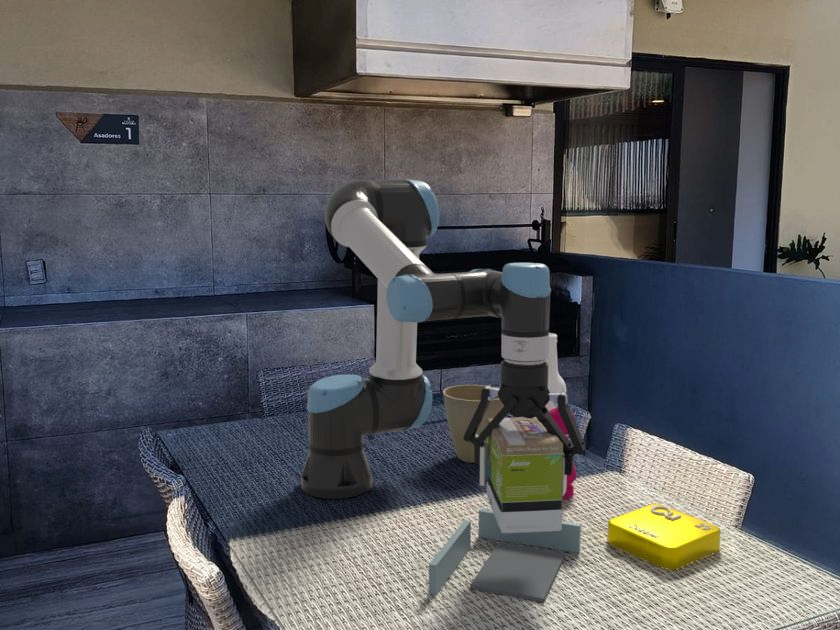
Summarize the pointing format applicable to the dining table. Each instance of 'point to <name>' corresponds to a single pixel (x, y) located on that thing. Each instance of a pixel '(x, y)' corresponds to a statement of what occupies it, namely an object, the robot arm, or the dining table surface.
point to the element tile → (663, 536)
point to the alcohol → (553, 371)
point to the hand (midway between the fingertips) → (522, 488)
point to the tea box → (525, 476)
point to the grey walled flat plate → (489, 529)
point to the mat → (519, 571)
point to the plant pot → (466, 415)
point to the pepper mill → (558, 420)
